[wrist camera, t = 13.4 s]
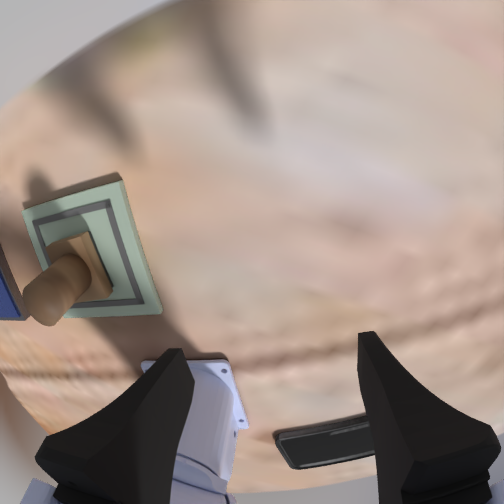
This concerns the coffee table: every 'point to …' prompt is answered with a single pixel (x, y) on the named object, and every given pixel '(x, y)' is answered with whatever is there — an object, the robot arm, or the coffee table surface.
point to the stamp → (67, 279)
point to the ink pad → (10, 295)
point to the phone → (327, 444)
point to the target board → (99, 247)
